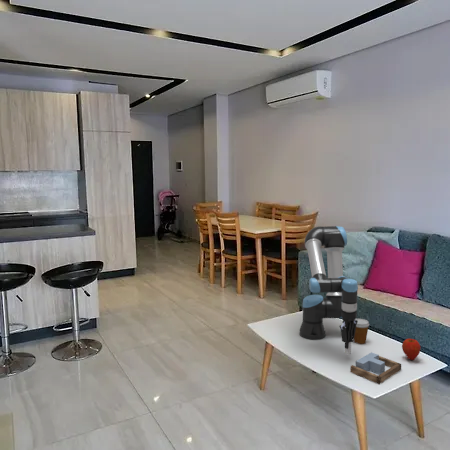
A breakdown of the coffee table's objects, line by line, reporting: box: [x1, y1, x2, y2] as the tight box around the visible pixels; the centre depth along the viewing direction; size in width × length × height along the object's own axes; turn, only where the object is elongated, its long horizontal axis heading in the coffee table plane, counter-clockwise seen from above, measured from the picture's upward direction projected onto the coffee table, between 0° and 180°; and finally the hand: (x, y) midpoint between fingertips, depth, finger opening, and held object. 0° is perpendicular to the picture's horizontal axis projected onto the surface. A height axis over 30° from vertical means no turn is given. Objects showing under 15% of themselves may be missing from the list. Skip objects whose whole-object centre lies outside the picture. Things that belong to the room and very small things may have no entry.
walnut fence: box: [350, 355, 402, 385], centre depth 193 cm, size 15×20×3 cm
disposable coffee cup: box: [353, 318, 370, 345], centre depth 225 cm, size 10×10×12 cm
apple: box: [401, 338, 422, 361], centre depth 203 cm, size 9×8×11 cm
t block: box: [355, 351, 386, 375], centre depth 194 cm, size 10×14×5 cm
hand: (347, 353), depth 205 cm, fingers closed
